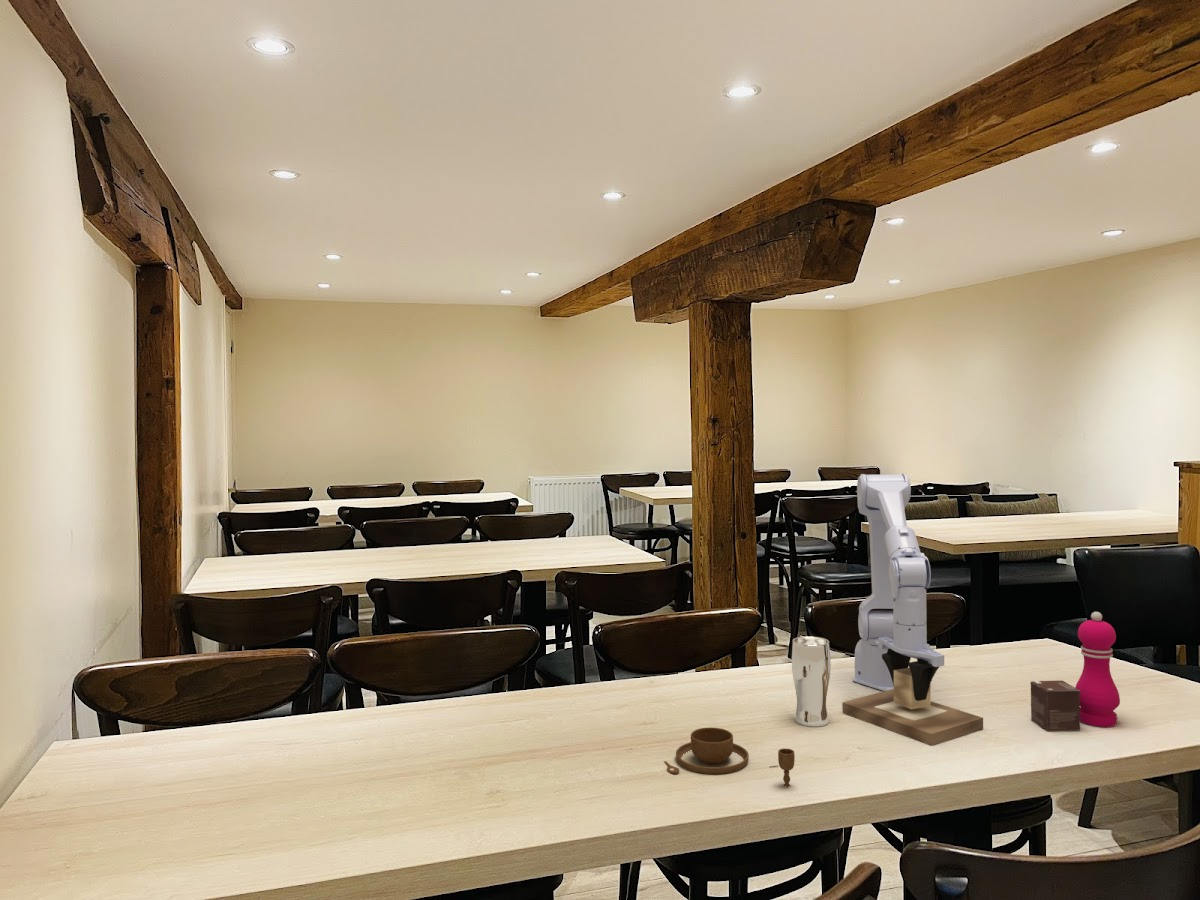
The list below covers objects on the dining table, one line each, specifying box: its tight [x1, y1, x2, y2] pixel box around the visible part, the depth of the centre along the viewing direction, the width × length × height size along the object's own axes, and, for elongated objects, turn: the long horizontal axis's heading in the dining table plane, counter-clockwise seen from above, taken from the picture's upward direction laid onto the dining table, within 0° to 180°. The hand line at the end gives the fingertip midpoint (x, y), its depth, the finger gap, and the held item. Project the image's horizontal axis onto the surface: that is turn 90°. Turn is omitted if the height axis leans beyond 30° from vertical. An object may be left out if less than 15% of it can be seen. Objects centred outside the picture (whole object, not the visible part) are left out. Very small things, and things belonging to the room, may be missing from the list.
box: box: [1030, 680, 1081, 732], centre depth 155 cm, size 6×6×7 cm
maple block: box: [894, 667, 932, 709], centre depth 158 cm, size 4×4×6 cm
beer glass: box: [791, 635, 832, 728], centre depth 159 cm, size 7×7×15 cm
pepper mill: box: [1074, 611, 1121, 728], centre depth 156 cm, size 7×7×20 cm
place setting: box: [663, 727, 796, 788], centre depth 138 cm, size 18×20×6 cm
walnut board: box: [841, 689, 984, 746], centre depth 158 cm, size 20×14×2 cm
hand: (910, 695), depth 158 cm, fingers closed on maple block, 4 cm apart
